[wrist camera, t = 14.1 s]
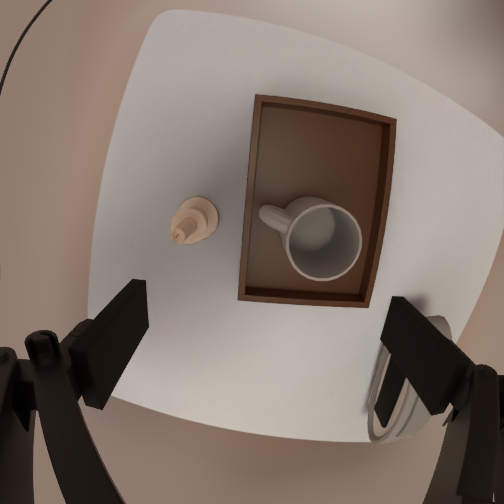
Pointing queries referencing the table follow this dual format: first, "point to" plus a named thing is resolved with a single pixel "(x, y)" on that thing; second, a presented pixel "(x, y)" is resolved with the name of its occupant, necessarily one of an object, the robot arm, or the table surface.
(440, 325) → the alarm clock
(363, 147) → the tray
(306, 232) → the cup
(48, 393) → the robot arm
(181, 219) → the candle
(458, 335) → the table surface
